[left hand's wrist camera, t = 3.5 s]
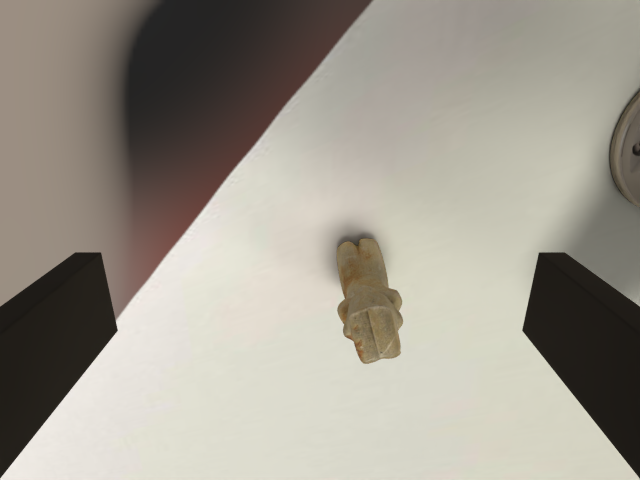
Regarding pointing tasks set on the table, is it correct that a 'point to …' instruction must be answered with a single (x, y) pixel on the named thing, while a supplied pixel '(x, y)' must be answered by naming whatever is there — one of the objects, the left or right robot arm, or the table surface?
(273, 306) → the table surface
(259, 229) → the table surface
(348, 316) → the sculpture
